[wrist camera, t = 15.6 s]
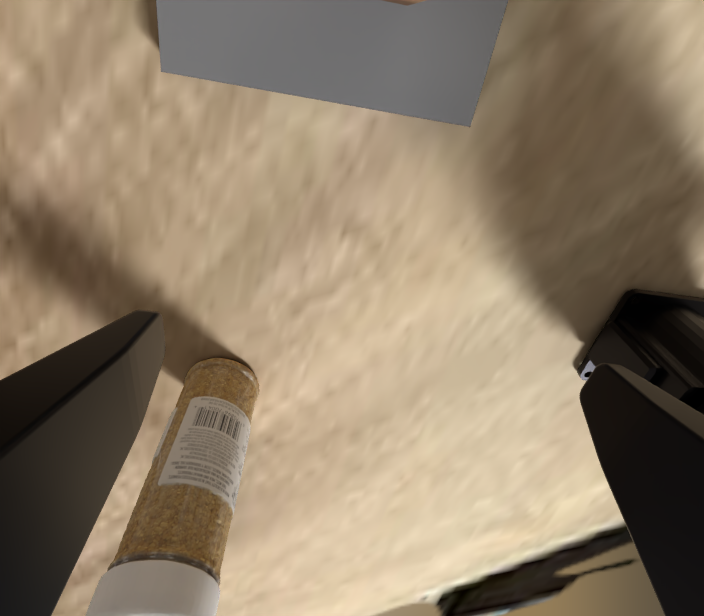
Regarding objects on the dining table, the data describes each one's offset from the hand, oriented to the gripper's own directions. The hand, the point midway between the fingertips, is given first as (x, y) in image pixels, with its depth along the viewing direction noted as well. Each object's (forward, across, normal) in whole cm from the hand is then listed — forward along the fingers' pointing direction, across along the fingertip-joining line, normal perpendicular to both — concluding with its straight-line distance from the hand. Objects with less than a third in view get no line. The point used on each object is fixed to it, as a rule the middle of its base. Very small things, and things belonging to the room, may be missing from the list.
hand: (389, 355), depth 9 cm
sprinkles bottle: (+13, +6, +14) cm, 20 cm away
